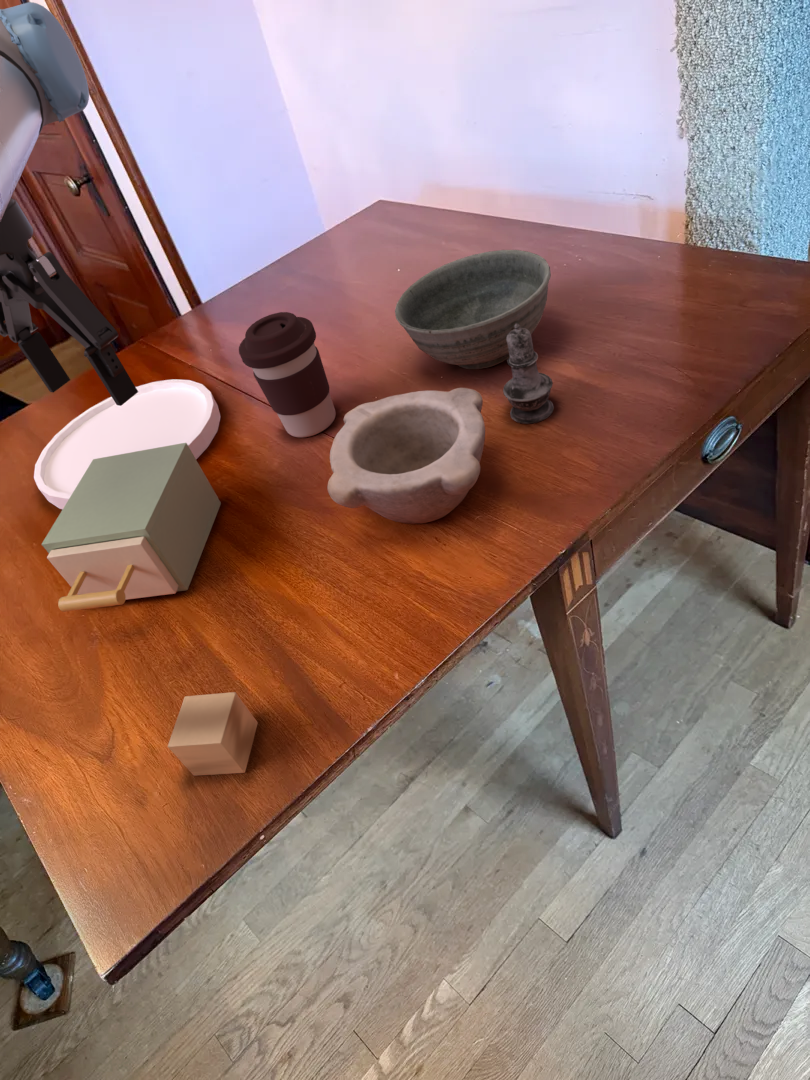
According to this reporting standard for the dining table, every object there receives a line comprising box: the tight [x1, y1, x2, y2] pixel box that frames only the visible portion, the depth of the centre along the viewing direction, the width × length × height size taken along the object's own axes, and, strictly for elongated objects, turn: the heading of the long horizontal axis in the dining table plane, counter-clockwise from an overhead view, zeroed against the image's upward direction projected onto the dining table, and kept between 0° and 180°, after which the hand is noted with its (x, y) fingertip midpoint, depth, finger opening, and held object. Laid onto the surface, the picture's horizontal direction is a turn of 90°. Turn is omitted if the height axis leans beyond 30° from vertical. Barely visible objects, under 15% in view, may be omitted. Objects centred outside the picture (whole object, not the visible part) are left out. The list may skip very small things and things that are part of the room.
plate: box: [33, 378, 221, 510], centre depth 110 cm, size 28×28×2 cm
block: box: [167, 691, 258, 777], centre depth 65 cm, size 5×5×5 cm
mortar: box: [326, 387, 486, 525], centre depth 82 cm, size 17×17×9 cm
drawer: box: [46, 536, 179, 613], centre depth 85 cm, size 19×12×8 cm, turn 174°
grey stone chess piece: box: [502, 323, 555, 425], centre depth 87 cm, size 6×6×12 cm
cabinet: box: [41, 443, 222, 593], centre depth 88 cm, size 15×13×10 cm
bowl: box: [394, 249, 552, 370], centre depth 101 cm, size 21×21×10 cm
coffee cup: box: [238, 311, 336, 438], centre depth 98 cm, size 10×10×15 cm
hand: (92, 392), depth 87 cm, fingers open, 13 cm apart
